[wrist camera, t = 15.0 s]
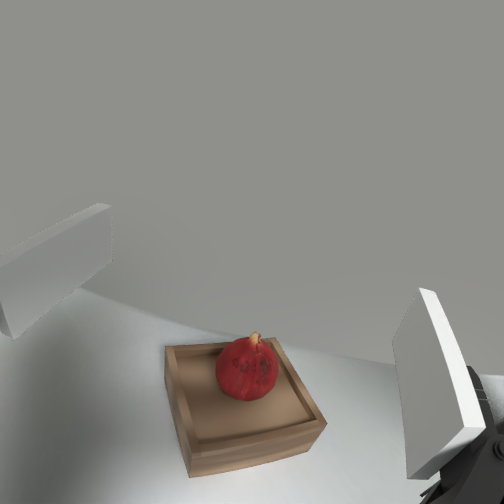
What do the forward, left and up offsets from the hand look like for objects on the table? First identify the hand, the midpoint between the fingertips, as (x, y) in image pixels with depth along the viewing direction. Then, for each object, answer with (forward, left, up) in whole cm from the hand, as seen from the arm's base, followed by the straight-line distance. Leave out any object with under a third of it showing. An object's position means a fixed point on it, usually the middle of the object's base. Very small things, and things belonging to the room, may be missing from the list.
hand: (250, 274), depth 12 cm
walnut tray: (+8, -6, -24) cm, 26 cm away
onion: (+8, -6, -19) cm, 22 cm away
